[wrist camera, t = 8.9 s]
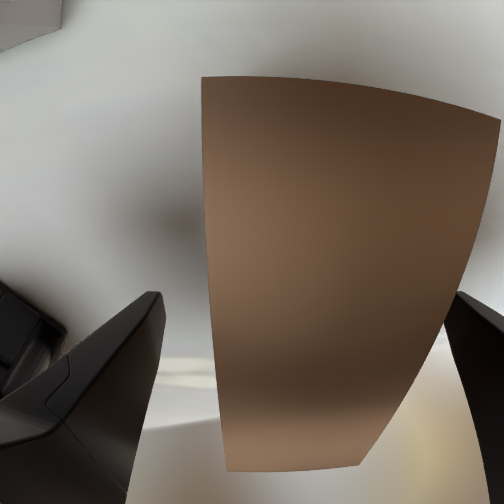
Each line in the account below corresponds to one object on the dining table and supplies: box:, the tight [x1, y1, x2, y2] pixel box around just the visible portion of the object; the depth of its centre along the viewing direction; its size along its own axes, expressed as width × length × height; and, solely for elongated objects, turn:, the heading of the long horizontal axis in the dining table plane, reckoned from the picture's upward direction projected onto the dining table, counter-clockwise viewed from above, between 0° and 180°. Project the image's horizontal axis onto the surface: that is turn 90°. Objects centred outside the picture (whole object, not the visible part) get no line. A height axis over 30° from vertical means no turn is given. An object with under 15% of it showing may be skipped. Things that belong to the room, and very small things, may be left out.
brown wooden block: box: [201, 76, 501, 472], centre depth 10 cm, size 12×5×8 cm, turn 179°
